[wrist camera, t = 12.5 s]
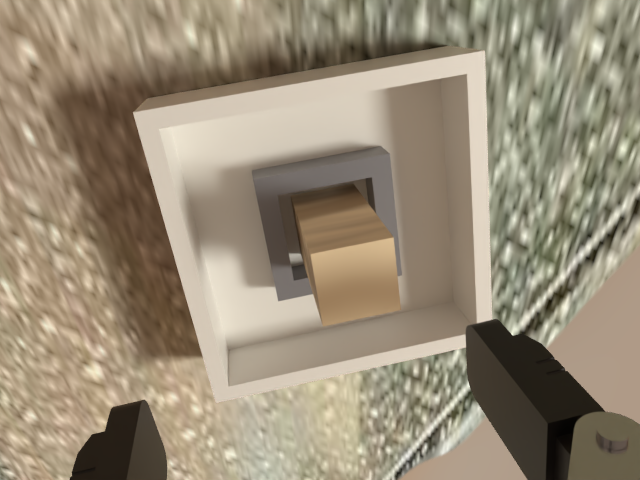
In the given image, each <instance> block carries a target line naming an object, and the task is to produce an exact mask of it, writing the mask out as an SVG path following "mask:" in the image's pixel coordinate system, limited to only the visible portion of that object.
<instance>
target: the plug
mask: <svg viewBox="0 0 640 480" xmlns="http://www.w3.org/2000/svg"><path fill="white" fill-rule="evenodd" d="M291 202H292V207H293V213H294V218H295V224H296V230H297V235H298V241H299V246H300V252H301V256H302V259H303V263H304V266H305V269H306V273H307V276H308V279H309V282H310V286H311V289H312V292H313V296H314V299H315V302H316V306H317V309H318V312H319V315H320V319H321V322H322V325H323V326H328V325H333V324H337V323H342V322H347V321H352V320H356V319H361V318H366V317H370V316H375V315H380V314H384V313H389V312H394V311H399V310H401V305H400V295H399V285H398V275H397V266H396V256H395V246H394V237H393V236H392V235H391V233H390V232H389V231H388V229H387V228H386V226H385V225H384V224H383V222H382V221H381V220H380V218H379V217H378V216H377V214H376V213H375V212H374V210H373V209H372V208H371V206H370V205H369V204H368V202H367V201H366V200H365V198H364V197H363V196H362V194H361V193H360V192H359V190H358V189H357V188H356V186H355V185H354V184H349V185H344V186H338V187H333V188H328V189H323V190H317V191H312V192H307V193H302V194H296V195H291Z"/></svg>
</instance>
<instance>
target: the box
mask: <svg viewBox="0 0 640 480" xmlns="http://www.w3.org/2000/svg"><path fill="white" fill-rule="evenodd" d="M133 115H134V118H135V122H136V125H137V129H138V132H139V136H140V139H141V143H142V146H143V150H144V153H145V157H146V160H147V164H148V167H149V171H150V174H151V178H152V181H153V185H154V188H155V192H156V195H157V199H158V202H159V206H160V209H161V213H162V216H163V220H164V223H165V227H166V230H167V234H168V237H169V241H170V244H171V248H172V251H173V255H174V258H175V262H176V265H177V269H178V272H179V276H180V279H181V283H182V286H183V290H184V293H185V297H186V300H187V304H188V307H189V311H190V314H191V318H192V321H193V325H194V328H195V331H196V335H197V338H198V342H199V345H200V349H201V352H202V356H203V359H204V363H205V366H206V370H207V373H208V377H209V380H210V384H211V387H212V391H213V394H214V398H215V401H216V403H219V402H223V401H228V400H232V399H237V398H241V397H246V396H250V395H255V394H259V393H264V392H268V391H273V390H277V389H281V388H286V387H290V386H295V385H299V384H304V383H308V382H313V381H317V380H322V379H326V378H331V377H335V376H340V375H344V374H349V373H353V372H358V371H362V370H367V369H371V368H376V367H380V366H385V365H389V364H393V363H398V362H402V361H407V360H411V359H416V358H420V357H425V356H429V355H434V354H438V353H443V352H447V351H452V350H456V349H461V348H465V347H466V327H467V326H468V325H472V324H476V323H480V322H485V321H489V320H492V301H491V263H490V225H489V187H488V149H487V111H486V73H485V50H478V49H470V48H463V47H455V46H444V47H438V48H433V49H427V50H421V51H415V52H410V53H404V54H398V55H392V56H387V57H381V58H375V59H369V60H364V61H358V62H352V63H347V64H341V65H335V66H329V67H324V68H318V69H312V70H306V71H301V72H295V73H289V74H283V75H278V76H272V77H266V78H261V79H255V80H249V81H243V82H238V83H232V84H226V85H220V86H215V87H209V88H203V89H197V90H192V91H186V92H180V93H175V94H169V95H163V96H157V97H152V98H147V99H146V100H145V101H144V102H143V103H142V104H141V105H140V106H139V107H138V108H137V109H136V110H135V111H134V112H133ZM349 184H354V185H355V186H356V188H357V189H358V190H359V192H360V193H361V194H362V196H363V197H364V198H365V200H366V201H367V202H368V204H369V205H370V206H371V208H372V209H373V210H374V212H375V213H376V214H377V216H378V217H379V218H380V220H381V221H382V222H383V224H384V225H385V226H386V228H387V229H388V231H389V232H390V233H391V235H392V236H393V237H394V246H395V256H396V266H397V275H398V285H399V295H400V305H401V310H399V311H394V312H389V313H384V314H380V315H375V316H370V317H366V318H361V319H356V320H352V321H347V322H342V323H337V324H333V325H328V326H323V325H322V322H321V319H320V315H319V312H318V309H317V306H316V302H315V299H314V296H313V292H312V289H311V286H310V282H309V279H308V276H307V273H306V269H305V266H304V263H303V259H302V256H301V252H300V246H299V241H298V235H297V230H296V224H295V218H294V213H293V207H292V202H291V195H296V194H302V193H307V192H312V191H317V190H323V189H328V188H333V187H338V186H344V185H349Z"/></svg>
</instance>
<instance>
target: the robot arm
mask: <svg viewBox="0 0 640 480" xmlns="http://www.w3.org/2000/svg"><path fill="white" fill-rule="evenodd" d="M466 356H467V375H468V381H469V385H470V388H471V391H472V393H473V395H474V397H475V399H476V401H477V402H478V404H479V405H480V407H481V408H482V410H483V412H484V413H485V415H486V416H487V418H488V419H489V421H490V422H491V424H492V425H493V427H494V428H495V430H496V432H497V433H498V435H499V436H500V438H501V439H502V441H503V442H504V444H505V445H506V447H507V449H508V450H509V452H510V453H511V454H512V456H513V458H514V459H515V461H516V462H517V464H518V465H519V467H520V469H521V470H522V472H523V473H524V475H525V476H526V478H527V479H528V480H640V424H638V423H637V422H635V421H634V420H632V419H630V418H628V417H625V416H623V415H620V414H616V413H612V412H605V411H604V410H603V408H602V407H601V406H600V405H599V404H598V403H597V402H596V401H595V400H594V399H593V398H592V397H591V396H590V395H589V394H588V393H587V392H586V390H585V389H584V388H583V387H582V386H581V385H580V384H579V383H578V382H577V381H576V380H575V379H574V378H573V377H572V376H571V375H570V374H569V372H568V371H565V368H564V367H563V366H562V365H561V364H560V363H559V362H558V361H557V360H555V359H554V357H553V356H552V354H551V353H550V352H549V351H548V350H547V349H546V348H545V347H544V346H543V345H542V344H541V343H539V342H537V341H535V340H533V339H531V338H530V337H528V336H526V335H524V334H519V335H515V336H512V335H511V334H510V332H509V331H508V330H507V329H506V328H505V327H504V326H503V324H502V323H501V322H500V321H499V320H497V319H493V320H489V321H485V322H480V323H476V324H472V325H468V326H467V327H466ZM166 479H167V460H166V453H165V449H164V446H163V443H162V440H161V438H160V435H159V432H158V429H157V427H156V424H155V421H154V418H153V416H152V413H151V410H150V408H149V405H148V403H147V402H146V401H145V400H141V401H137V402H133V403H128V404H124V405H120V406H115V407H113V408H112V409H111V411H110V414H109V418H108V422H107V426H106V429H105V432H101V433H96V434H92V435H91V437H90V438H89V439H88V441H87V442H86V443H85V445H84V446H83V447H82V449H81V450H80V451H79V453H78V455H77V458H76V461H75V464H74V467H73V471H72V477H70V480H166Z"/></svg>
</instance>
